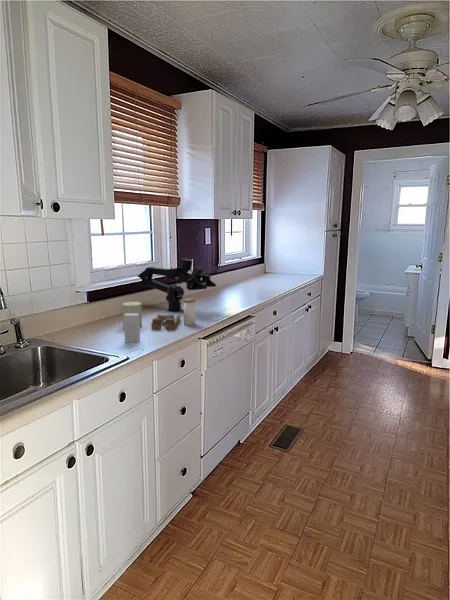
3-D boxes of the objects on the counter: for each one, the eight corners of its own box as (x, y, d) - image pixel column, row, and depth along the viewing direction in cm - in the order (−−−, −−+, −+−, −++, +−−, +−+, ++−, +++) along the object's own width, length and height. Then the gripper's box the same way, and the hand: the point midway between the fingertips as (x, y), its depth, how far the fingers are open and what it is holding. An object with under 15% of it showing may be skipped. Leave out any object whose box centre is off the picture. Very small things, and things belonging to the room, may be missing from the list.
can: (123, 329, 200) (122, 304, 198) (122, 324, 209) (121, 301, 206) (142, 328, 202) (142, 304, 200) (141, 323, 211) (140, 300, 209)
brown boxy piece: (158, 319, 220) (158, 310, 219) (179, 319, 220) (179, 310, 219) (151, 329, 200) (151, 319, 199) (175, 329, 200) (175, 319, 199)
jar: (181, 325, 209) (181, 299, 206) (186, 322, 214) (186, 297, 212) (193, 326, 207) (193, 300, 204) (197, 323, 213) (197, 298, 210)
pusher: (158, 323, 210) (158, 314, 210) (174, 323, 210) (174, 315, 210) (155, 327, 203) (155, 318, 202) (172, 327, 203) (172, 318, 202)
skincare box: (140, 339, 184) (139, 313, 181) (138, 342, 179) (137, 315, 177) (126, 339, 183) (125, 313, 181) (124, 342, 179) (123, 315, 177)
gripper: (180, 266, 222) (204, 274, 215) (200, 263, 238) (223, 270, 231) (177, 285, 226) (200, 294, 219) (197, 281, 241) (219, 289, 234)
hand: (211, 286), depth 225 cm, fingers open, 9 cm apart
